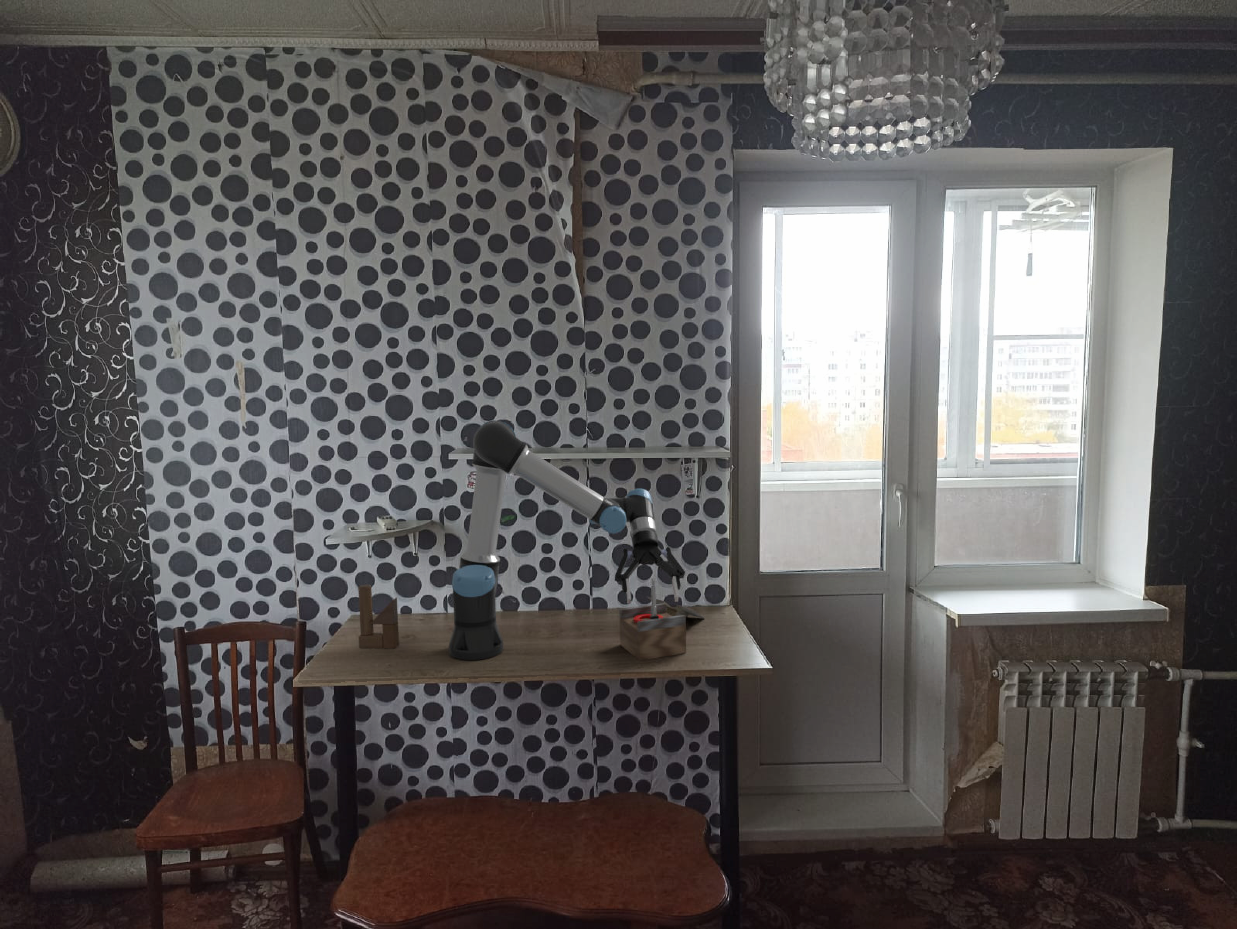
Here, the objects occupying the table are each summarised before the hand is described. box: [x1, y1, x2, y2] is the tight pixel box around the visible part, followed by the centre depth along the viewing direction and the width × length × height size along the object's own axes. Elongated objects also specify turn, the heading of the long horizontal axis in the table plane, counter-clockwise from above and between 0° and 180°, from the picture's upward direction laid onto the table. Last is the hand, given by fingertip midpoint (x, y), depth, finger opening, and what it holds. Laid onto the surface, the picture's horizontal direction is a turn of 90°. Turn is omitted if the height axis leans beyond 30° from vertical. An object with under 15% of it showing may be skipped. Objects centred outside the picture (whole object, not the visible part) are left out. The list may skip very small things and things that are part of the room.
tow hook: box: [633, 578, 664, 623], centre depth 220 cm, size 8×13×9 cm
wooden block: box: [357, 584, 400, 649], centre depth 227 cm, size 4×11×18 cm, turn 86°
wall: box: [646, 596, 705, 620], centre depth 244 cm, size 16×9×15 cm
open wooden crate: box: [619, 602, 687, 661], centre depth 221 cm, size 14×14×10 cm
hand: (653, 600), depth 218 cm, fingers open, 13 cm apart
